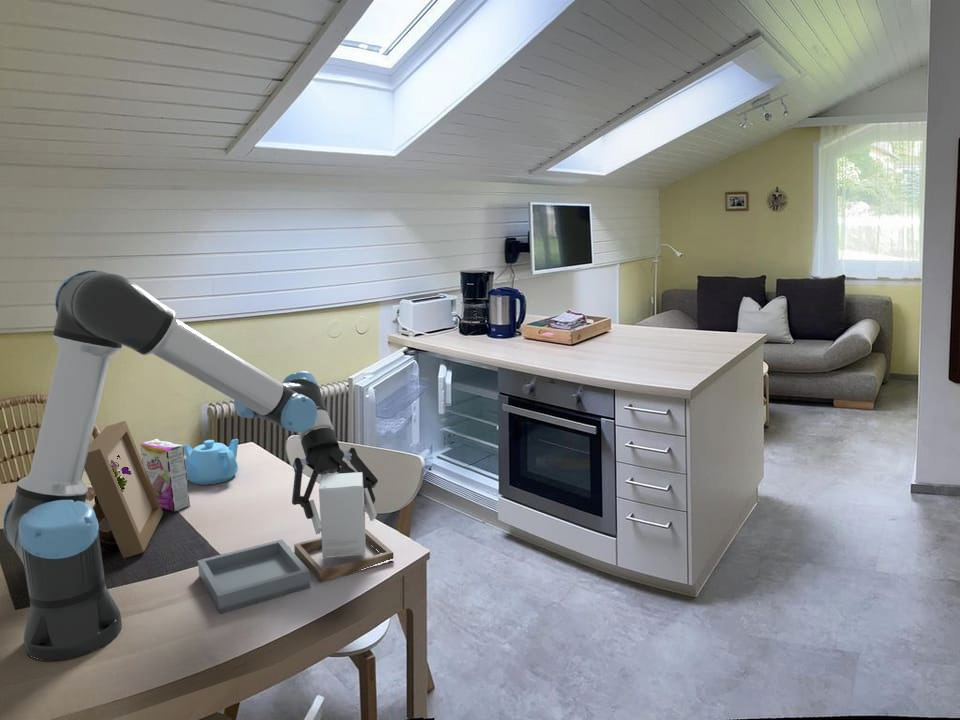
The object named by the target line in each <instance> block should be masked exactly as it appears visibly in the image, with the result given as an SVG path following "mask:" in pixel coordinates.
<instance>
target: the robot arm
mask: <svg viewBox="0 0 960 720" xmlns="http://www.w3.org/2000/svg"><path fill="white" fill-rule="evenodd" d="M54 298H55V299H54V301H55V302H54V303H55V304H54V305H55V311H56V313H57V314H56V315H57V316H56V320H55V324H54V328H53V329H54V330H53V333H52V337H53V338H52V339H54V341H55V342H56V343H57V345H58V347H59V349H58V353H57V357H56V362H55V365H54V370H53V374H52V379H51V381H50V386H49V391H48V394H47V399H46V403H45V408H44V412H43V416H42V421H41V425H40V428H39V433H38V437H37V441H36V446H35V450H34V454H33V459H32V463H31V466H30V470H29V471H30V472H29V473H28V474H27V475H26V476H24V477H22V478H20V479H19V480H18V481H17V485H16V490H15V493H14V497H13V498H12V499H11V500H10V502H9V503H8V504H7V506H6V508H5V510H4V514H3V518H2V524H3V525H2V527H3V533H4V536H5V537H6V540H7V541H8V543H9V544H10V545H11V546H12V548H13V550H14V551H15V552H16V554H17V556H18V557H19V559H20V561H21V562H22V564H23V568H24V573H25V578H26V579H25V580H26V586H27V591H28V592H27V593H28V597H29V604H30V606H29V610H28V611H29V612H28V616H27V620H26V624H25V628H24V634H23V643H24V651H25V650H26V651H25V653H26V652H27V653H28V654H29V655H30V656H32V657H35V658H38V659H42V660H41V661H43V660H56V661H63V660H69V659H74V658H78V657H80V656H84V655H87V654H89V653H91V652H93V651H96V650H99V649H100V648H103V646H105V645H107V644H108V643H110V642H111V641H113V640H114V639H115V638H116V637H117V636H118V635H119V633H120V632H121V630H122V628H123V627H122V626H123V624H122V622H123V621H122V615H121V611H120V609H119V607H118V605H117V604H116V602H115V600H114V599H113V597H112V595H111V594H110V592H109V590H108V588H107V586H106V580H105V571H104V563H103V555H102V548H101V541H100V540H101V539H100V533H99V532H98V531H99V524H98V520H97V518H96V515H95V512H94V510H93V506H92V505H90V504H88V503H86V501H87V497H88V491H89V488H88V487H87V485H86V484H85V483H84V482H83V475H84V471H85V469H84V467H85V462H86V458H87V454H88V450H89V445H90V443H91V442H92V441H91V440H92V437H93V433H94V428H95V422H96V420H97V416H98V415H97V414H98V411H99V407H100V403H101V398H102V394H103V390H104V385H105V381H106V378H107V377H106V376H107V374H108V373H107V372H108V369H109V363H110V360H111V357H112V356H113V355H114V354H116V353H117V352H120V351H121V350H122V347H123V346H124V347H127V348H128V349H131V350H133V351H135V352H137V353H139V354H140V355H142V356H148V355H151V354H152V355H154V356H155V357H157V358H159V359H161V360H163V361H164V362H166V363H168V364H170V365H172V367H173V366H174V367H175V368H177V369H179V370H180V371H183V372H184V373H186V374H187V375H189V376H191V377H192V378H195V379H196V380H198V381H200V382H202V383H203V384H205V385H206V386H209V387H211V388H213V389H214V390H216V391H218V392H220V393H221V394H223V395H225V396H226V397H229V398H230V399H232V400H233V403H234V409H235V413H236V414H237V415H238V416H239V417H240V418H246V419H247V418H249V419H254V418H255V419H256V418H260V419H263V420H265V421H267V422H269V423H272V424H274V425H277V426H279V427H281V428H283V429H285V430H287V431H289V432H293V433H298V437H299V439H300V443H301V447H302V450H303V453H304V455H305V458H300V457H295V458H294V461H293V463H292V467H293V471H294V478H293V486H292V487H293V488H292V497H291V504H292V505H293V506H296V505H300V507H301V508H303V511H304V515H305V518H306V519H307V520H310V519H311V522H312V524H313V528H314V529H313V530H314V533H315V535H319V534H320V535H321V530H322V525H321V519H320V515H319V512H318V510H317V506H316V504H315V500H314V499H310V498H311V494H312V492H313V489H314V487H315V485H316V481H317V479H318V476H319V475H320V476H321V475H324V474H336V473H337V474H342V473H355V472H362V474H363V489H364V508H365V511H366V512H367V515H368V518H369V521H370V522H373V521H374V520H375V519H376V517H377V516H378V514H377V512H376V511H377V510H376V508H375V506H374V504H375V503H376V497H375V494H374V491H373V489H374V488H375V487H376V486H377V483H378V478H377V477H376V475H374V474H373V472H372V471H371V470H370V469H369V467H368V466H367V465H366V464H365V463H364V461H363V460H362V459H361V458H360V457H359V456H358V453H357V451H356V448H355V447H350V448H349V450H348V449H347V450H342V449H341V448H340V444H339V441H338V438H337V436H336V433H335V430H334V427H333V424H332V422H331V418H330V416H329V413H328V410H327V408H326V404H325V401H324V398H323V395H322V392H321V388H320V386H319V384H318V381H317V379H316V377H315V376H314V374H313V373H311V372H309V371H305V370H303V371H301V370H298V372H292V373H290V374H289V375H287V376H286V377H285V378H284V379H283V381H282V382H280V381H279V380H277V379H275V378H274V377H272V376H271V375H269V374H267V373H266V372H264V371H262V370H260V369H259V368H258V367H256V366H254V365H253V364H251V363H250V362H247V361H246V360H244V358H243V359H242V358H241V357H240V356H237V355H236V354H234V353H233V352H231V351H229V350H228V349H226V348H225V347H223V346H222V345H220V344H218V343H216V342H215V341H214V340H212V339H211V338H209V337H207V336H206V335H203V334H202V333H200V332H199V331H197V330H195V329H194V328H192V327H190V326H189V325H187V324H186V323H184V322H183V321H181V320H179V319H178V318H176V312H175V310H173V308H170V306H167V305H166V304H164V303H163V302H161V301H160V300H159V299H157V298H156V297H154V296H153V295H151V294H150V293H149V292H148V291H146V290H145V289H143V288H142V287H141V286H140V285H138V284H137V283H135V282H133V281H132V280H131V279H129V278H127V277H125V276H123V275H120V274H115V273H109V272H105V271H103V270H97V269H96V270H95V269H91V270H84V271H80V272H78V273H75V274H72V275H71V276H69V277H68V278H65V280H64V281H63V282H62V283H61V284H60V286H59V287H58V289H57V291H56V294H55V297H54ZM344 458H345V459H346V460H347V461H348V462H350V465H351V466H352V467H353V468H351V467H350V466H349V465H348V462H346V461H344V460H343V459H344ZM305 466H308V468H310V469H311V470H312V473H311V476H310V479H309V481H308V483H307V486H306V489H305V492H304V494H303V495H301V489H302V478H303V470H304V469H305ZM354 469H355V470H354ZM27 653H26V654H27ZM30 656H29V657H30Z"/></svg>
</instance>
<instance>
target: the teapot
mask: <svg viewBox="0 0 960 720" xmlns="http://www.w3.org/2000/svg"><path fill="white" fill-rule="evenodd" d="M182 445H183V444H182ZM238 447H239V439H238V438H235V439H231V441H230V443H229V445H228V446H227V445H225V443H222V442H215V440H214V439H207V440H203V444H199V445H197V446H195V447H194V448H192V447H191V446H190V444H184V445H183V449H184V456H185V466H186V474H187V481H189V482H190V483H192V484H194V483H195V484H194V485H197V484H201V485H200V486H206V485H207V486H209V485H208V484H212V485H217V484H216V483H218V484H221V483H220V482H222V483H224V481H225V482H227V481H230V480H231V479H233V477H235V475H236V474H237V473H238V469H239V466H238V461H237V455H238Z"/></svg>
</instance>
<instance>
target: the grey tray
mask: <svg viewBox="0 0 960 720" xmlns="http://www.w3.org/2000/svg"><path fill="white" fill-rule="evenodd" d="M197 565H198V576H199V577H198V578H200V580H201V583H202V584H203V587H205V589H206V592H207V593H208V595H209V596H210V598H211V601H212V602H213V604H214V606H215V608H216V609H217V612H218V613H219V614H223V613H228V612H230V611H233V610H237V609H241V608H244V607H247V606H250V605H251V606H252V605H254V604H258V603H261V602H265V601H268V600H271V599H272V600H273V599H275V598H278V597H283V596H286V595H289V594H292V593H296V592H300V591H302V590H305V589H309V588H311V576H310V575H311V573H310V572H311V571H310V570H309V569H308V567H307V566H306V565H305V564H304V563H303V562H302V561H301V559H300V558H299V557H298V556H297V555H296V554H295V551H293V550H292V549H291V548H290V546H289V545H288V544H287V543H286V542H285V540H283V539H277V540H274V541H273V540H272V541H270V542H265V543H261V544H257V545H254V546H251V547H250V546H249V547H246V548H242V549H238V550H235V551H234V550H233V551H229V552H225V553H222V554H218V555H214V556H211V557H207V558H202V559H198V560H197Z"/></svg>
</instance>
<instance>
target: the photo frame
mask: <svg viewBox="0 0 960 720" xmlns="http://www.w3.org/2000/svg"><path fill="white" fill-rule="evenodd" d="M118 455H119V456H120V458H121V459H120V458H119V457H117V456H118ZM117 458H118V459H117ZM111 460H113V461H114V462H117V463H118V464H119V466H120V475H121V476H123V477H124V478H126V479H127V483H126V485H125V490H124V492H122V491H121V488H120V486H119V484H118V481H117V479H116V477H115V474H114V472H113V470H112V467H111V465H110V463H109V462H110V461H111ZM123 467H128V468H129V469H130V471H131V472H132V474H131V475H127V474H123V473H122V471H121V469H122V468H123ZM84 471H85V473H86V475H87V478H88V480H89V482H90V484H91V487H92V489H93V491H94V495H95V496H96V500H97V499H98V502H99V503H98V504H96V501H95V502H94V504H93V506H92V508H93V510H94V512H95V515H96V518H97V520H98V524H99V523H100V521H101V519H102V518H103V515H105V516H104V518H105V520H106V521H107V524H108V527H109V529H110V531H111V533H112V535H113V538H114V540H115V542H116V544H117V547H118V549H119V552H120V554H121V556H122V559H123V558H124V559H126V558H125V557H127V558H130V557H132V556H135V555H139V554H142V553H144V552H145V550H146V549H147V547H148V545H149V543H150V540H151V538H152V537H153V535H154V532H155V530H156V528H157V527H158V525H159V523H160V521H161V518H162V517H163V515H164V511H163V508H161V506H160V504H159V501H158V499H157V496H156V494H155V491H154V489H153V487H152V484H151V482H150V479H149V477H148V474H147V472H146V470H145V467H144V465H143V461H142V456H141V454H140V453H139V450H138V448H137V446H136V443H135V441H134V438H133V436H132V434H131V431H130V428H129V426H128V423H127V422H126V420H123V421H120V422H116V423H114V424H111V425H107V426H106V427H104V429H102V431H101V432H100V433H99V434H98V435H97V436H96V437H95V438H94V439H93V440H92V441H90V445H89V450H88V454H87V458H86V462H85V467H84Z"/></svg>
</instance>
